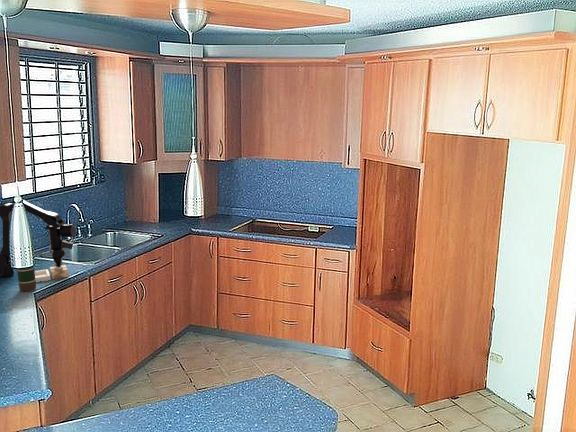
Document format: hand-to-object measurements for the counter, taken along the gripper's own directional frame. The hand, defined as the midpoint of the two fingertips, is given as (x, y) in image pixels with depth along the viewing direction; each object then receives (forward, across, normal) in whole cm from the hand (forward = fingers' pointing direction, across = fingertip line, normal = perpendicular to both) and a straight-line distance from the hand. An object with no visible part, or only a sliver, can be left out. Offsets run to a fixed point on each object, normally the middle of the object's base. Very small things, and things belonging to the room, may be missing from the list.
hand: (58, 265), depth 309 cm
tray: (+6, 0, +10) cm, 12 cm away
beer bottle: (+6, -18, +16) cm, 25 cm away
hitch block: (+6, 0, 0) cm, 6 cm away
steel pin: (+6, 0, 0) cm, 6 cm away
